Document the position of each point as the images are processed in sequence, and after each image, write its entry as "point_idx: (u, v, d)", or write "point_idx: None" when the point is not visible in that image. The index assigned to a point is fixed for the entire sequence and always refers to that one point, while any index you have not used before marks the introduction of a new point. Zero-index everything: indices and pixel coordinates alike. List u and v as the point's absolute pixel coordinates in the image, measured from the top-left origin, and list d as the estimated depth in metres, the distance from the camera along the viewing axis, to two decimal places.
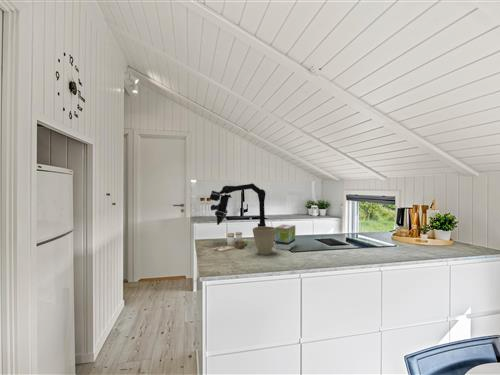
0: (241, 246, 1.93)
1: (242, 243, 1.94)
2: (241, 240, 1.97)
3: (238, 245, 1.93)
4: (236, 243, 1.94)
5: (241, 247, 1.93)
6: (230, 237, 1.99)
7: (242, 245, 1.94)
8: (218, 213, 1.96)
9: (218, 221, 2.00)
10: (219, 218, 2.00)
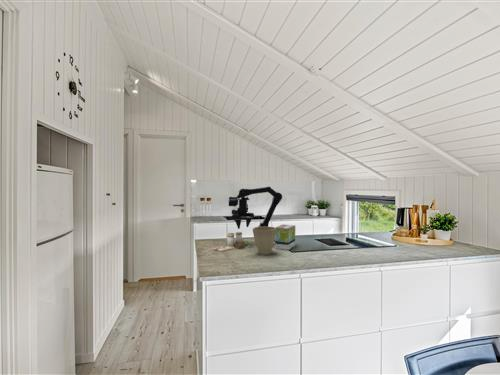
0: (241, 246, 1.93)
1: (242, 243, 1.94)
2: (241, 240, 1.97)
3: (238, 245, 1.93)
4: (236, 243, 1.94)
5: (241, 247, 1.93)
6: (230, 237, 1.99)
7: (242, 245, 1.94)
8: (233, 217, 1.98)
9: (237, 225, 2.01)
10: (237, 222, 2.00)
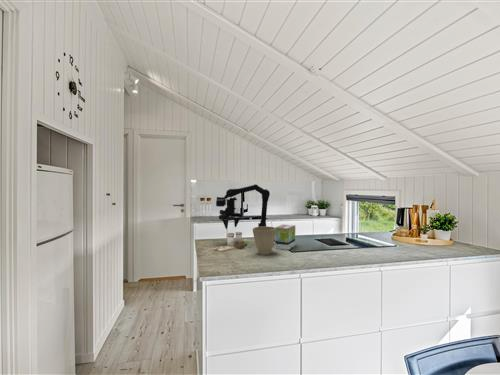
0: (241, 246, 1.93)
1: (242, 243, 1.94)
2: (241, 240, 1.97)
3: (238, 245, 1.93)
4: (236, 243, 1.94)
5: (241, 247, 1.93)
6: (230, 237, 1.99)
7: (242, 245, 1.94)
8: (220, 217, 1.99)
9: (225, 225, 2.02)
10: (225, 222, 2.01)
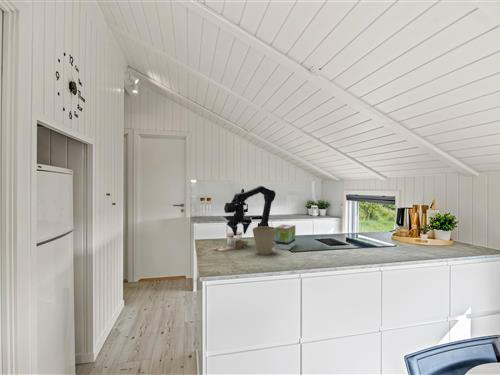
0: (241, 246, 1.93)
1: (242, 243, 1.94)
2: (241, 240, 1.97)
3: (238, 245, 1.93)
4: (236, 243, 1.94)
5: (241, 247, 1.93)
6: (230, 237, 1.99)
7: (242, 245, 1.94)
8: (229, 224, 1.88)
9: (234, 232, 1.91)
10: (234, 229, 1.90)
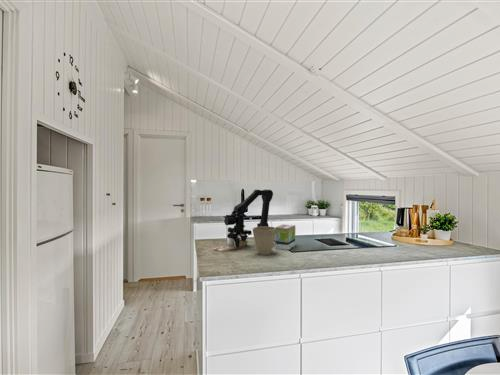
0: (241, 246, 1.93)
1: (242, 243, 1.94)
2: (241, 240, 1.97)
3: None
4: None
5: (241, 247, 1.93)
6: None
7: (242, 245, 1.94)
8: (229, 236, 1.88)
9: (236, 243, 1.93)
10: (236, 240, 1.92)
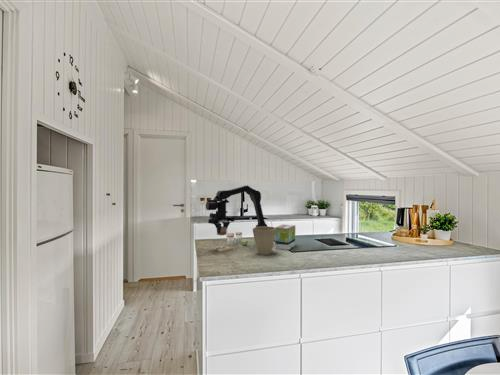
0: (222, 232, 1.87)
1: (224, 229, 1.88)
2: None
3: (220, 231, 1.87)
4: None
5: (223, 233, 1.87)
6: (230, 237, 1.99)
7: (224, 231, 1.88)
8: (210, 221, 1.83)
9: (217, 229, 1.87)
10: (217, 226, 1.86)
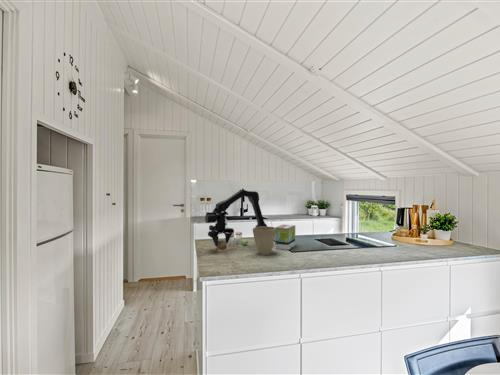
0: (222, 247, 1.87)
1: (224, 243, 1.88)
2: None
3: (220, 245, 1.87)
4: (218, 243, 1.89)
5: (223, 247, 1.88)
6: (230, 237, 1.99)
7: (224, 246, 1.88)
8: (209, 234, 1.83)
9: (215, 242, 1.85)
10: (215, 239, 1.85)
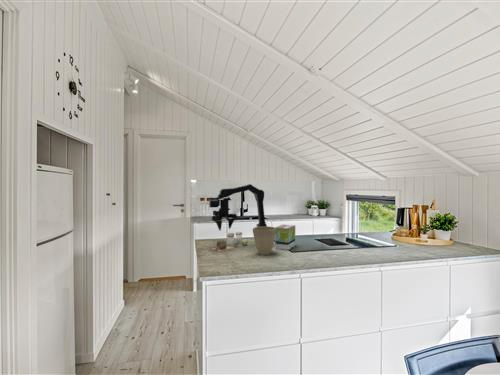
0: (222, 247, 1.87)
1: (224, 243, 1.88)
2: None
3: (220, 245, 1.87)
4: (218, 243, 1.89)
5: (223, 247, 1.88)
6: (230, 237, 1.99)
7: (224, 246, 1.88)
8: (213, 218, 1.90)
9: (218, 227, 1.93)
10: (218, 223, 1.93)
